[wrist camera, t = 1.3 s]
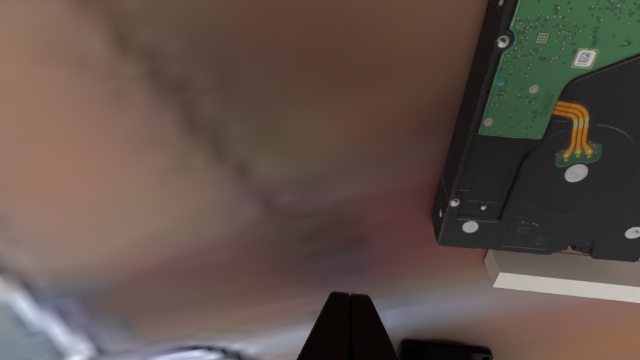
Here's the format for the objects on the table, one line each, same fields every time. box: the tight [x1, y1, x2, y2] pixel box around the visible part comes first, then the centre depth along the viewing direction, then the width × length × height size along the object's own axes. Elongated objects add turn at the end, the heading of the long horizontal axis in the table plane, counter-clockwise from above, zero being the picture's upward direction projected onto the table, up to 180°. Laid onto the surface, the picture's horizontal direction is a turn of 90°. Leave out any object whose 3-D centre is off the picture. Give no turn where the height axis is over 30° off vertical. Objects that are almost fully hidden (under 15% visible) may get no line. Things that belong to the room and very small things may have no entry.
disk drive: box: [432, 0, 640, 262], centre depth 18 cm, size 10×3×15 cm
